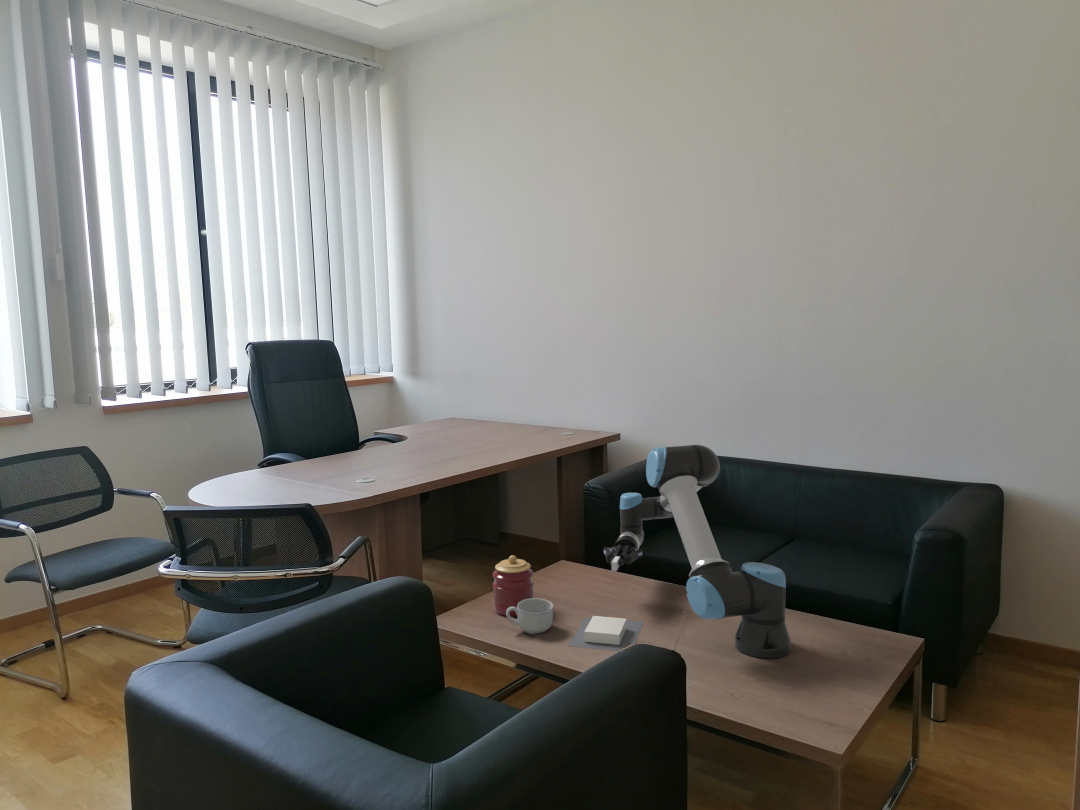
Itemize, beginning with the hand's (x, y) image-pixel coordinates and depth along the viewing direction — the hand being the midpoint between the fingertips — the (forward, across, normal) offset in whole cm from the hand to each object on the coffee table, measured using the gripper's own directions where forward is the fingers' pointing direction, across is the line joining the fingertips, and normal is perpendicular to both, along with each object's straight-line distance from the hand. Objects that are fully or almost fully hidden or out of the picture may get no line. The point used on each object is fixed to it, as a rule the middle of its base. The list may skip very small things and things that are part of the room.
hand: (613, 566), depth 242 cm
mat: (+14, 0, -16) cm, 21 cm away
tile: (+10, 0, -14) cm, 17 cm away
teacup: (+15, +23, -16) cm, 32 cm away
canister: (+1, +32, -16) cm, 36 cm away
